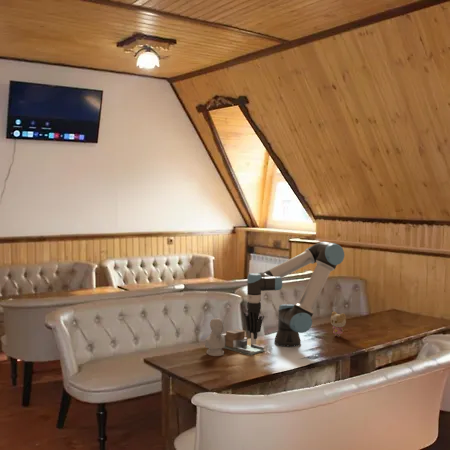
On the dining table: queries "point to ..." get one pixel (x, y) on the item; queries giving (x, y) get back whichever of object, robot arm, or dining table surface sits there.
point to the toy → (338, 322)
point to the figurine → (215, 338)
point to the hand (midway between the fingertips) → (253, 344)
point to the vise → (245, 348)
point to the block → (233, 336)
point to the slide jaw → (240, 342)
